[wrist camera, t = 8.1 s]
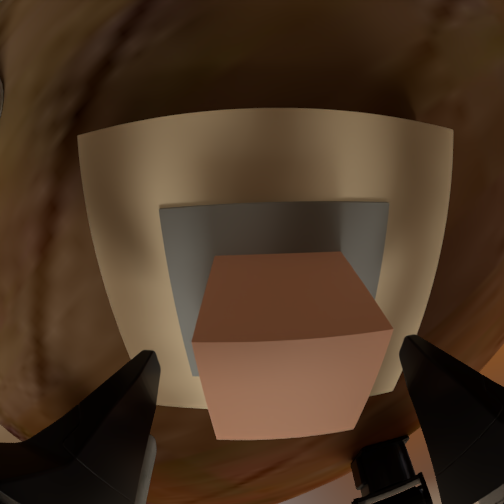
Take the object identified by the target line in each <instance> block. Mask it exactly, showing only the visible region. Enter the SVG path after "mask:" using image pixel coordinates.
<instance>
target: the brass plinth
mask: <svg viewBox="0 0 504 504" xmlns="http://www.w3.org/2000/svg"><path fill="white" fill-rule="evenodd" d="M77 138H78V151H79V161H80V170H81V178H82V185H83V192H84V198H85V204H86V210H87V215H88V220H89V225H90V230H91V235H92V239H93V244H94V248H95V252H96V256H97V260H98V264H99V268H100V271H101V275H102V279H103V282H104V285H105V289H106V292H107V295H108V298H109V302H110V305H111V308H112V311H113V314H114V317H115V319H116V322H117V325H118V328H119V331H120V333H121V336H122V338H123V341H124V344H125V346H126V349H127V351H128V354H129V356H130V358H131V359H133V358H134V357H135V356H136V355H137V354H139V353H140V352H141V351H142V350H154V351H155V353H156V355H157V358H158V361H159V364H160V367H161V374H160V381H159V388H158V395H157V403H156V405H163V406H174V407H186V408H202V409H208V407H207V403H206V400H205V396H204V392H203V388H202V385H201V381H200V377H199V373H198V369H197V364H196V360H195V356H194V351H193V347H192V343H191V342H192V338H193V334H194V330H195V326H196V322H197V318H198V315H199V311H200V307H201V303H202V300H203V296H204V292H205V289H206V285H207V281H208V278H209V274H210V271H211V267H212V264H213V260H214V257H215V256H223V255H253V254H283V253H312V252H340V251H341V252H342V254H343V255H344V257H345V258H346V259H347V261H348V262H349V264H350V265H351V266H352V268H353V269H354V271H355V272H356V273H357V275H358V276H359V278H360V279H361V281H362V282H363V283H364V285H365V286H366V288H367V289H368V291H369V292H370V294H371V295H372V297H373V298H374V300H375V301H376V303H377V304H378V306H379V307H380V309H381V310H382V312H383V313H384V315H385V316H386V318H387V319H388V321H389V323H390V324H391V326H392V327H393V329H394V330H393V333H392V336H391V339H390V342H389V345H388V348H387V351H386V354H385V357H384V359H383V362H382V365H381V367H380V370H379V373H378V375H377V378H376V380H375V383H374V385H373V388H372V390H371V392H370V395H369V396H373V395H378V394H382V393H387V392H391V391H393V389H394V387H395V385H396V383H397V381H398V379H399V377H400V374H401V372H402V370H403V369H402V366H401V362H400V359H399V351H400V348H401V346H402V343H403V340H404V338H405V337H406V336H407V335H412V334H416V335H417V332H418V330H419V327H420V324H421V321H422V318H423V315H424V312H425V309H426V305H427V302H428V299H429V295H430V292H431V288H432V285H433V281H434V277H435V273H436V269H437V265H438V261H439V256H440V252H441V247H442V242H443V237H444V231H445V225H446V219H447V212H448V205H449V197H450V188H451V176H452V161H453V130H452V129H449V128H445V127H441V126H436V125H432V124H428V123H423V122H418V121H413V120H408V119H402V118H397V117H390V116H384V115H377V114H369V113H361V112H352V111H341V110H328V109H310V108H247V109H228V110H215V111H204V112H195V113H186V114H178V115H171V116H164V117H158V118H152V119H146V120H141V121H136V122H131V123H126V124H121V125H117V126H112V127H108V128H104V129H100V130H96V131H92V132H89V133H85V134H81V135H78V136H77Z"/></svg>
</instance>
